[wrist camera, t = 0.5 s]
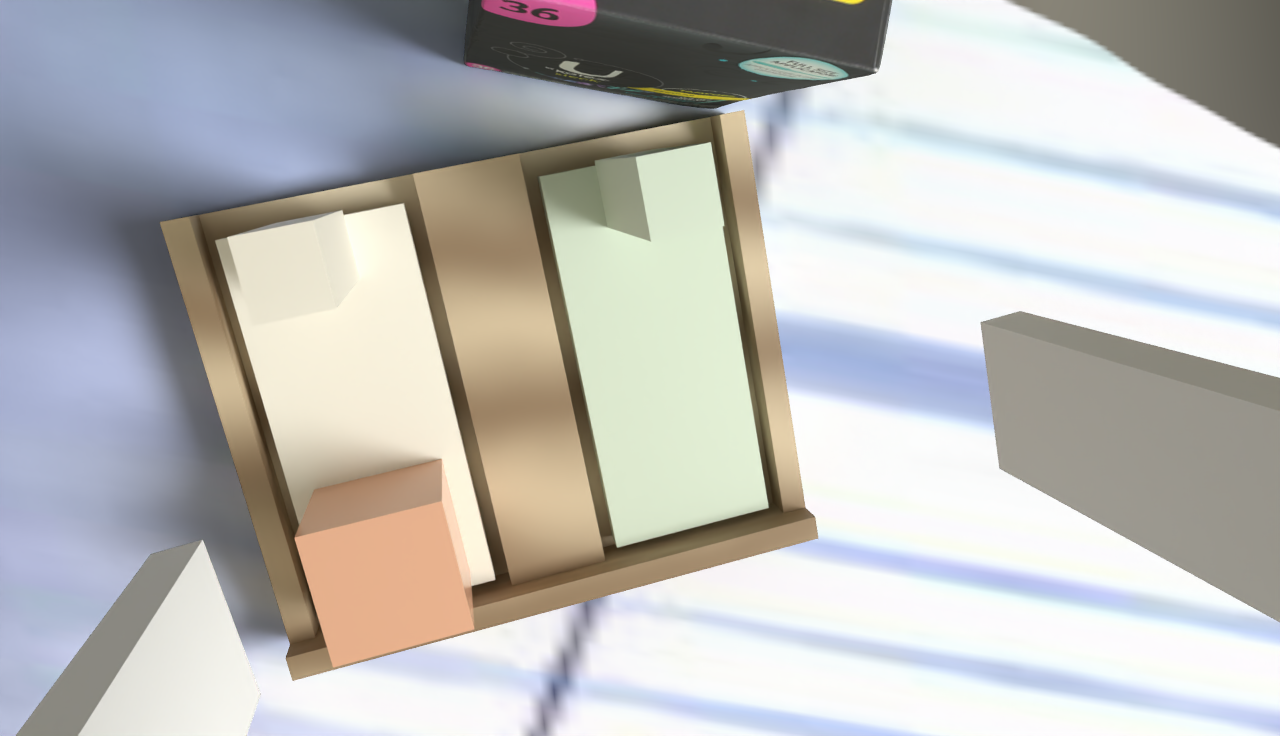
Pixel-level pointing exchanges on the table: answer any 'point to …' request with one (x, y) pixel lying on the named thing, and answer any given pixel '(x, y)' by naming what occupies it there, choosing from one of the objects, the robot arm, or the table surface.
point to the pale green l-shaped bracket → (656, 339)
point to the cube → (386, 562)
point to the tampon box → (680, 45)
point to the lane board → (506, 380)
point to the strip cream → (349, 356)
